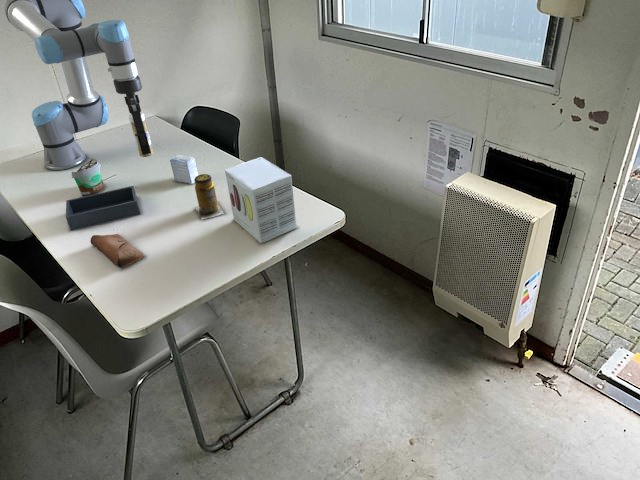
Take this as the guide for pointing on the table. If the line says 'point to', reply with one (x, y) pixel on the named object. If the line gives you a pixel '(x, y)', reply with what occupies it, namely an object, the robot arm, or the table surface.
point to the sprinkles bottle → (137, 137)
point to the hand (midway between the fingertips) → (145, 150)
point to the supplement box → (261, 198)
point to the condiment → (206, 197)
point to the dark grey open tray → (101, 207)
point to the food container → (89, 178)
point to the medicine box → (184, 169)
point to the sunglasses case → (116, 249)
